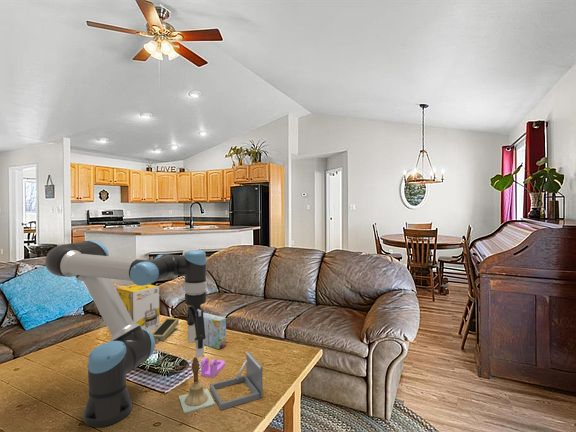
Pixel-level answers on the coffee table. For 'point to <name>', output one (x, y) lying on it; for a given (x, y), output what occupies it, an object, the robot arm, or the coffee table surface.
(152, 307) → the packaging box
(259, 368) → the hatch
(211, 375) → the bracket
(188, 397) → the hand bell
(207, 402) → the pad
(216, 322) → the snack box
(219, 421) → the coffee table surface
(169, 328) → the box
